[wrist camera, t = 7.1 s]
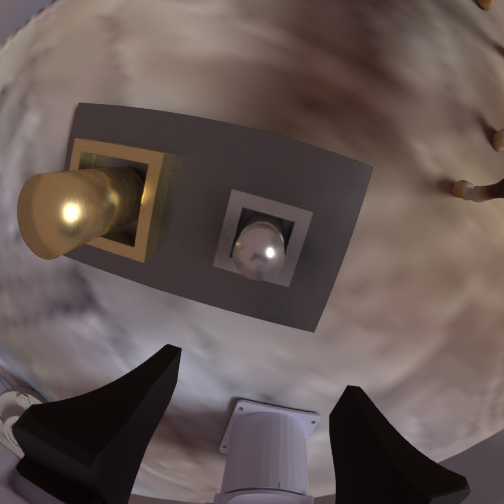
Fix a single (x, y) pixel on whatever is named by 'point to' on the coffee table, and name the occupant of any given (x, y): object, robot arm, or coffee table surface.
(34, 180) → the brass fitting
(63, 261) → the coffee table surface
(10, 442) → the valve
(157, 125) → the plate
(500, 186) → the horse figurine
